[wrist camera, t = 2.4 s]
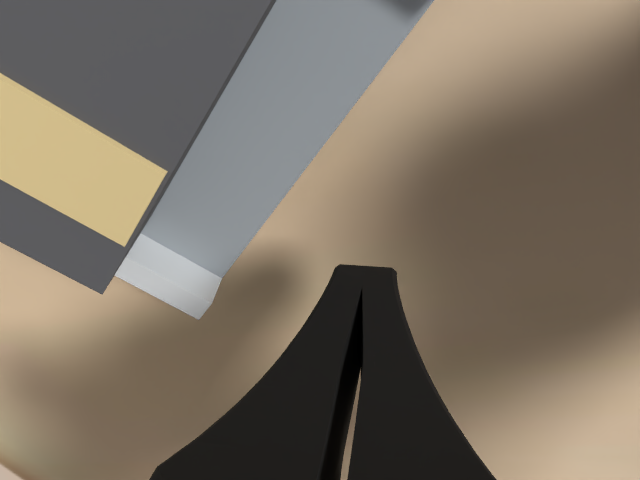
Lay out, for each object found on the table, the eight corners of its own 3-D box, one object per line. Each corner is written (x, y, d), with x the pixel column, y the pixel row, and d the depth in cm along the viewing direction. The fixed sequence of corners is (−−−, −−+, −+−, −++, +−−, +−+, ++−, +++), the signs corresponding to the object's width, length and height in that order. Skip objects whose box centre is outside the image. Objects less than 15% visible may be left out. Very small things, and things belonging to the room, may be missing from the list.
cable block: (318, -73, 13) (288, -29, 10) (149, 218, 19) (100, 298, 16) (108, -231, 12) (5, -231, 9) (-4, 132, 18) (-87, 202, 15)
